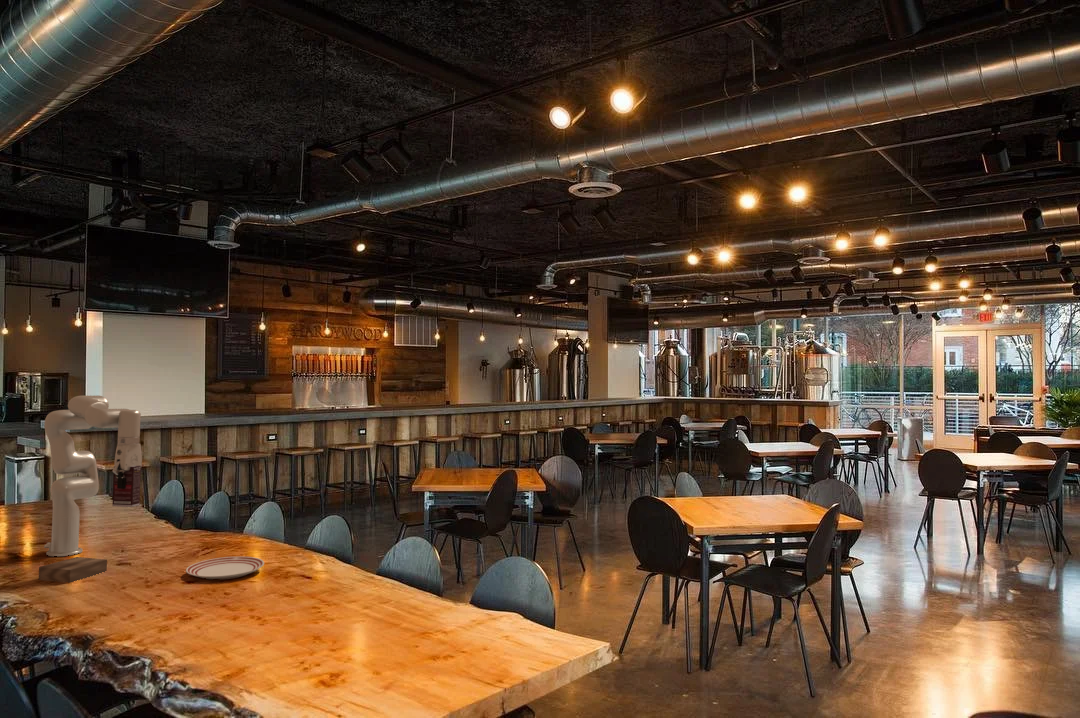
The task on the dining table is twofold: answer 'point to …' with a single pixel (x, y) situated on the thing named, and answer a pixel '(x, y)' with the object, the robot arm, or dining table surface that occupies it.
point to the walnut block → (72, 569)
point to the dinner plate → (225, 567)
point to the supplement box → (128, 489)
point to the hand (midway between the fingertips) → (126, 486)
